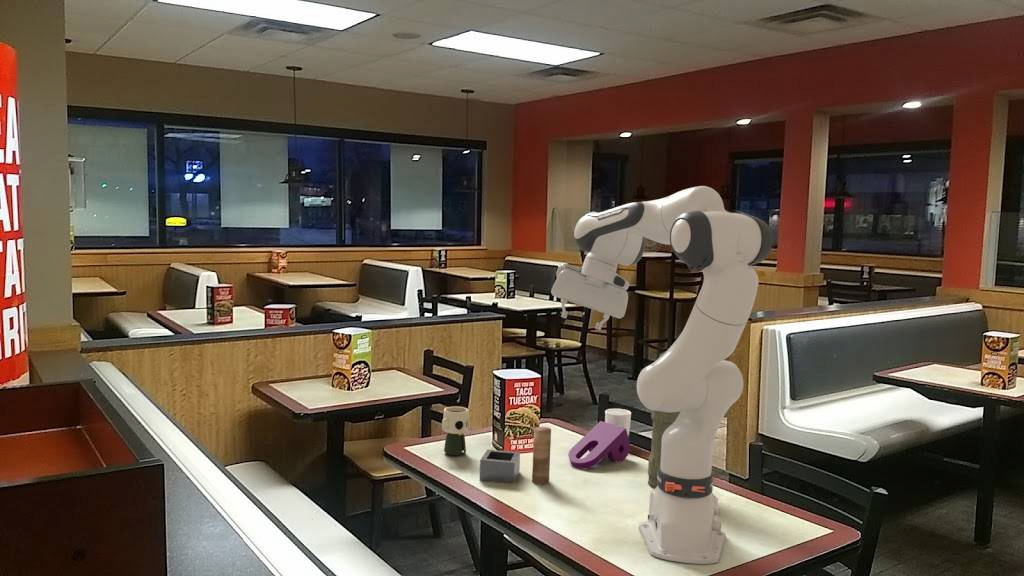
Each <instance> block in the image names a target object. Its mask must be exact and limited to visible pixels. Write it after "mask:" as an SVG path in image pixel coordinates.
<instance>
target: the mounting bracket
mask: <svg viewBox="0 0 1024 576" xmlns="http://www.w3.org/2000/svg"><path fill="white" fill-rule="evenodd" d="M630 447H631V444H630V439H629V436H628V434H627V431H626V428H623V427H620V426H616V425H613V424H609V423H606V422H605V421H602V420H600V421H599V422H598V423H596V424H595V426H594V427H593V428H591V429H590V430H589V431H588V432H587V433H586V434H585V435H584V436H583V437H581V439H580V440H579V441H577V442H576V443H575V445H574V446H572V447H571V448H570V449H569V452H568V455H567V456H568V459H569V462H570V465H571V464H572V465H571V466H572V467H574V466H575V467H574V468H577V467H578V469H581V470H582V469H583V470H586V469H591V468H592V467H595V466H596V465H598V464H599V463H600V462H601V461H602V460H603V459H604V458H605V457H607V459H608V460H610V461H613V462H616V463H620V461H621V462H624V461H625V460H626V459H627V457H628V455H629V453H630ZM588 452H589V453H588ZM586 453H587V455H586ZM584 455H585V456H584ZM583 456H584V457H583ZM623 460H624V461H623Z"/></svg>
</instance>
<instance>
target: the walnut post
mask: <svg viewBox="0 0 1024 576" xmlns="http://www.w3.org/2000/svg"><path fill="white" fill-rule="evenodd" d="M551 439H552V428H551V427H548V426H537V427H534V428H533V446H532V447H533V448H532V449H533V450H532V453H533V454H532V471H531V472H532V474H531V477H532V479H531V481H532V483H533V484H535V483H536V485H540V484H543V485H548V484H549V483H550V467H551V444H552V443H551V442H552V440H551Z"/></svg>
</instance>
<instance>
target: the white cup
mask: <svg viewBox="0 0 1024 576" xmlns="http://www.w3.org/2000/svg"><path fill="white" fill-rule="evenodd" d="M604 413H605V414H604V415H605V416H604V422H606V423H609V424H613V425H616V426H620V427H623V428H626V431H627V434H628V437H629V436H630V430H631V428H630V427H631V418H632V412H631V411H630V410H628V409H625V408H624V409H623V408H608V409H606V410H604Z"/></svg>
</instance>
